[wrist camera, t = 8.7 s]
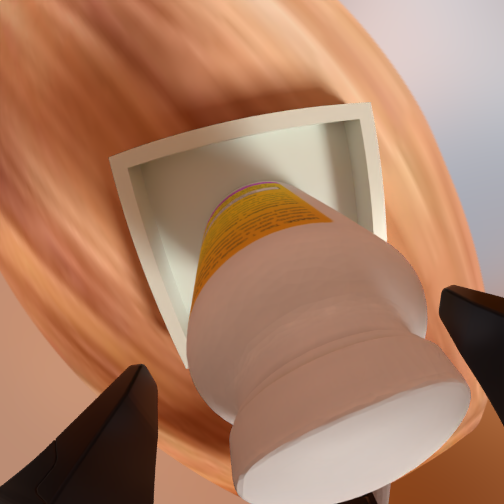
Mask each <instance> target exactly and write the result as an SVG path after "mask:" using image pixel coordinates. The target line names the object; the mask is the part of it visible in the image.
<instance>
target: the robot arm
mask: <svg viewBox="0 0 504 504" xmlns="http://www.w3.org/2000/svg"><path fill="white" fill-rule="evenodd" d="M439 316H440V318H441V320H442V322H443V324H444V325H445V327H446V329H447V331H448V332H449V334H450V336H451V338H452V340H453V341H454V343H455V345H456V347H457V349H458V350H459V352H460V354H461V355H462V357H463V359H464V360H465V362H466V363H467V365H468V366H469V368H470V369H471V371H472V372H473V374H474V376H475V377H476V379H477V380H478V382H479V384H480V385H481V387H482V389H483V390H484V392H485V394H486V395H487V397H488V399H489V400H490V402H491V404H492V406H493V407H494V409H495V411H496V413H497V414H498V416H499V418H500V420H501V422H502V424H503V426H504V298H503V297H499V296H495V295H492V294H488V293H484V292H480V291H476V290H472V289H468V288H464V287H460V286H456V285H451V286H449V287H446V288H444V289H443V291H442V293H441V300H440V306H439ZM157 440H158V390H157V385H156V383H155V381H154V379H153V378H152V376H151V374H150V373H149V371H148V369H147V367H146V366H145V365H143V364H137V365H131V366H129V367H128V368H127V369H126V370H125V371H124V372H123V373H122V374H121V375H120V376H119V377H118V378H117V379H116V380H115V381H114V382H113V383H112V384H111V385H110V386H109V387H108V388H107V389H106V390H105V391H104V392H103V393H102V394H101V395H100V396H99V397H98V398H97V399H96V400H95V401H94V402H93V403H92V404H91V405H89V407H87V408H86V409H85V410H84V411H83V412H82V413H81V414H80V415H79V416H78V417H77V418H76V419H75V420H74V421H73V422H72V423H71V424H70V425H69V426H68V427H67V428H66V429H65V430H64V431H63V432H62V433H61V434H60V435H59V436H58V437H57V438H56V440H54V441H53V442H52V443H51V444H50V445H49V446H48V447H47V448H46V449H45V450H44V451H43V452H42V453H40V454H39V455H38V456H37V457H36V458H35V459H34V460H33V461H31V462H30V463H29V464H28V465H27V466H26V467H24V468H23V469H22V470H21V471H19V472H18V473H17V474H16V475H15V476H13V477H12V478H11V479H9V480H8V481H7V482H6V483H4V484H3V485H2V486H0V504H153V503H154V481H155V465H156V452H157ZM336 504H378V503H377V501H376V499H375V497H374V495H373V493H372V492H370V493H367V494H365V495H362V496H359V497H357V498H354V499H351V500H347V501H344V502H340V503H336Z"/></svg>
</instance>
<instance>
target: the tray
mask: <svg viewBox="0 0 504 504" xmlns="http://www.w3.org/2000/svg"><path fill="white" fill-rule="evenodd" d="M108 158H109V162H110V166H111V170H112V173H113V177H114V181H115V185H116V188H117V192H118V195H119V199H120V202H121V205H122V209H123V212H124V215H125V218H126V221H127V224H128V228H129V231H130V234H131V237H132V240H133V243H134V245H135V248H136V251H137V254H138V257H139V259H140V262H141V265H142V268H143V270H144V273H145V276H146V278H147V281H148V283H149V286H150V288H151V291H152V293H153V296H154V298H155V301H156V303H157V306H158V308H159V310H160V313H161V315H162V317H163V320H164V322H165V324H166V327H167V329H168V331H169V333H170V336H171V338H172V340H173V342H174V344H175V346H176V349H177V351H178V353H179V355H180V357H181V359H182V361H183V363H184V365H185V367H186V369H188V368H189V367H188V361H187V355H186V342H187V330H188V322H189V315H190V310H191V304H192V297H193V291H194V285H195V279H196V273H197V267H198V261H199V255H200V251H201V245H202V240H203V235H204V231H205V228H206V225H207V222H208V220H209V218H210V216H211V214H212V212H213V210H214V209H215V208H216V206H217V205H218V204H219V203H220V202H221V201H222V200H223V199H224V198H225V197H226V196H227V195H229V194H230V193H231V192H233V191H234V190H236V189H238V188H240V187H242V186H244V185H247V184H250V183H254V182H260V181H276V182H282V183H286V184H289V185H292V186H294V187H296V188H298V189H300V190H302V191H304V192H305V193H307V194H309V195H310V196H312V197H314V198H316V199H317V200H319V201H321V202H322V203H324V204H326V205H328V206H329V207H331V208H333V209H334V210H336V211H338V212H339V213H341V214H343V215H344V216H346V217H347V218H349V219H351V220H352V221H354V222H355V223H357V224H359V225H360V226H362V227H364V228H365V229H367V230H368V231H370V232H372V233H373V234H375V235H376V236H378V237H380V238H381V239H383V240H384V241H386V242H387V233H386V214H385V200H384V189H383V179H382V170H381V161H380V154H379V147H378V140H377V134H376V128H375V122H374V117H373V111H372V106H371V102H368V103H351V104H338V105H328V106H318V107H310V108H302V109H294V110H287V111H281V112H275V113H269V114H263V115H258V116H252V117H247V118H242V119H237V120H233V121H228V122H224V123H219V124H215V125H211V126H207V127H203V128H199V129H195V130H191V131H188V132H184V133H180V134H177V135H173V136H170V137H167V138H163V139H160V140H157V141H154V142H151V143H148V144H145V145H142V146H139V147H136V148H133V149H130V150H127V151H124V152H121V153H119V154H116V155H113V156H111V157H108Z"/></svg>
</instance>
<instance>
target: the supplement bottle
mask: <svg viewBox="0 0 504 504" xmlns="http://www.w3.org/2000/svg"><path fill="white" fill-rule="evenodd" d="M426 330H427V304H426V299H425V294H424V291H423V288H422V285H421V282H420V280H419V278H418V276H417V274H416V272H415V270H414V269H413V267H412V266H411V265H410V263H409V262H408V261H407V260H406V258H405V257H404V256H403V255H402V254H401V253H400V252H399V251H398V250H396V249H395V248H394V247H393V246H392V245H390V244H389V243H387V242H386V241H384V240H383V239H381V238H380V237H378V236H376V235H375V234H373V233H372V232H370V231H368V230H367V229H365V228H364V227H362V226H360V225H359V224H357V223H355V222H354V221H352V220H351V219H349V218H347V217H346V216H344V215H343V214H341V213H339V212H338V211H336V210H334V209H333V208H331V207H329V206H328V205H326V204H324V203H322V202H321V201H319V200H317V199H316V198H314V197H312V196H310V195H309V194H307V193H305V192H304V191H302V190H300V189H298V188H296V187H294V186H292V185H289V184H286V183H282V182H276V181H260V182H254V183H250V184H247V185H244V186H242V187H240V188H238V189H236V190H234V191H233V192H231V193H230V194H229V195H227V196H226V197H225V198H224V199H223V200H222V201H221V202H220V203H219V204H218V205H217V206H216V208H215V209H214V210H213V212H212V214H211V216H210V218H209V220H208V222H207V225H206V228H205V231H204V235H203V240H202V245H201V251H200V255H199V261H198V267H197V273H196V279H195V285H194V291H193V297H192V304H191V310H190V315H189V322H188V330H187V342H186V355H187V361H188V367H189V371H190V374H191V377H192V380H193V383H194V385H195V387H196V389H197V391H198V392H199V394H200V396H201V397H202V398H203V399H204V401H205V402H206V403H207V404H208V406H209V407H210V408H211V409H212V410H213V411H214V412H215V413H216V414H218V415H219V416H220V417H222V418H223V419H224V420H226V421H227V422H229V423H231V424H233V426H232V429H231V431H230V437H229V442H230V455H231V466H232V477H233V482H234V486H235V490H236V491H237V493H238V495H239V496H240V497H241V498H242V499H244V500H245V501H247V502H249V503H251V504H336V503H340V502H344V501H347V500H351V499H354V498H357V497H359V496H362V495H365V494H367V493H370V492H372V491H375V490H377V489H379V488H381V487H383V486H385V485H387V484H389V483H391V482H393V481H395V480H396V479H398V478H400V477H402V476H403V475H405V474H406V473H408V472H410V471H411V470H413V469H414V468H416V467H417V466H419V465H420V464H421V463H423V462H424V461H425V460H426V459H428V458H429V457H430V456H431V455H432V454H434V453H435V452H436V451H437V450H438V449H439V448H440V447H441V446H442V445H443V444H444V443H445V442H446V441H447V440H448V439H449V438H450V437H451V435H452V434H453V433H454V432H455V430H456V429H457V428H458V426H459V425H460V423H461V422H462V420H463V418H464V417H465V415H466V412H467V410H468V408H469V404H470V399H471V392H470V388H469V386H468V384H467V382H466V381H465V379H464V378H463V376H462V375H461V374H460V373H459V371H458V370H457V369H456V368H455V367H454V365H453V364H452V363H451V361H450V360H449V359H448V357H447V356H446V355H445V353H444V352H443V351H442V350H441V348H440V347H439V346H438V345H436V344H435V343H433V342H431V341H429V340H426V339H425V335H426Z"/></svg>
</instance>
